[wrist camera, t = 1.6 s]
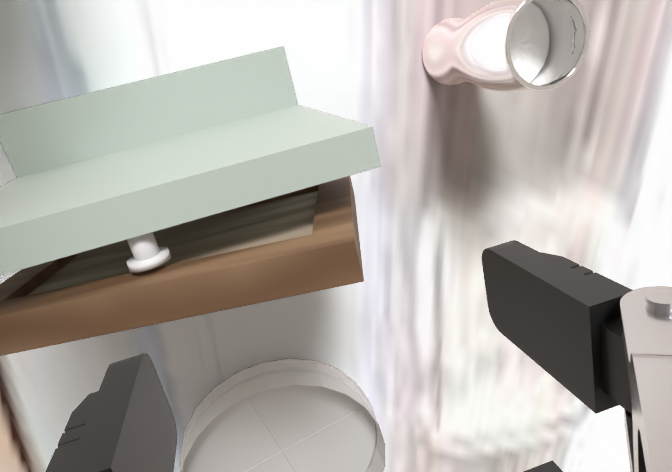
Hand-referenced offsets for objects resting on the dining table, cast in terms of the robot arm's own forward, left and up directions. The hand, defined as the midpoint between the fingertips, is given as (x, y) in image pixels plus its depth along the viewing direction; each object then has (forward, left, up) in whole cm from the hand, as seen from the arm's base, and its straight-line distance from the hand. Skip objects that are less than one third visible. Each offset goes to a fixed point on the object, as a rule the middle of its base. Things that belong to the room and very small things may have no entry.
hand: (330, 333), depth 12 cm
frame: (+3, -3, -26) cm, 26 cm away
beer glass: (-3, +22, -37) cm, 43 cm away
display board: (-1, -6, -37) cm, 38 cm away
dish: (+34, -5, -38) cm, 51 cm away
